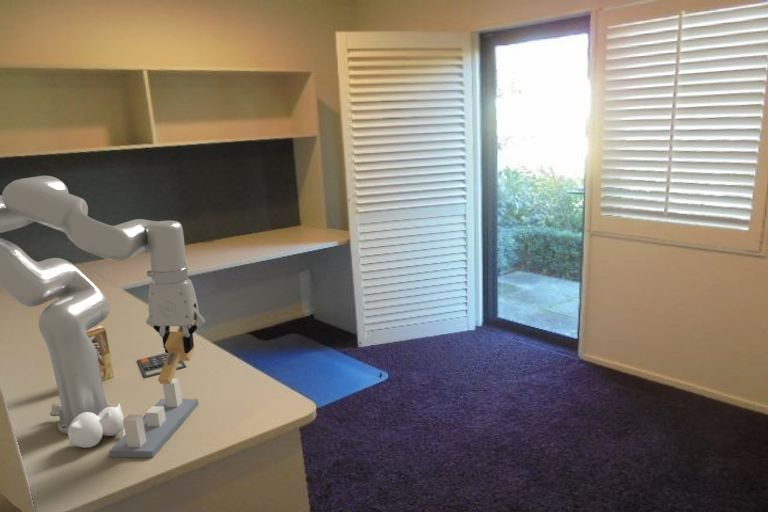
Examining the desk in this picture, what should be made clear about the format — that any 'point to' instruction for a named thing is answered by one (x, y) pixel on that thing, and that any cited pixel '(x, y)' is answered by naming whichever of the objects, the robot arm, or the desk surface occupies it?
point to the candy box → (101, 351)
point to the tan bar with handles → (174, 355)
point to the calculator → (155, 365)
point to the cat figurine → (95, 427)
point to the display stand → (154, 424)
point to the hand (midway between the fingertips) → (179, 350)
